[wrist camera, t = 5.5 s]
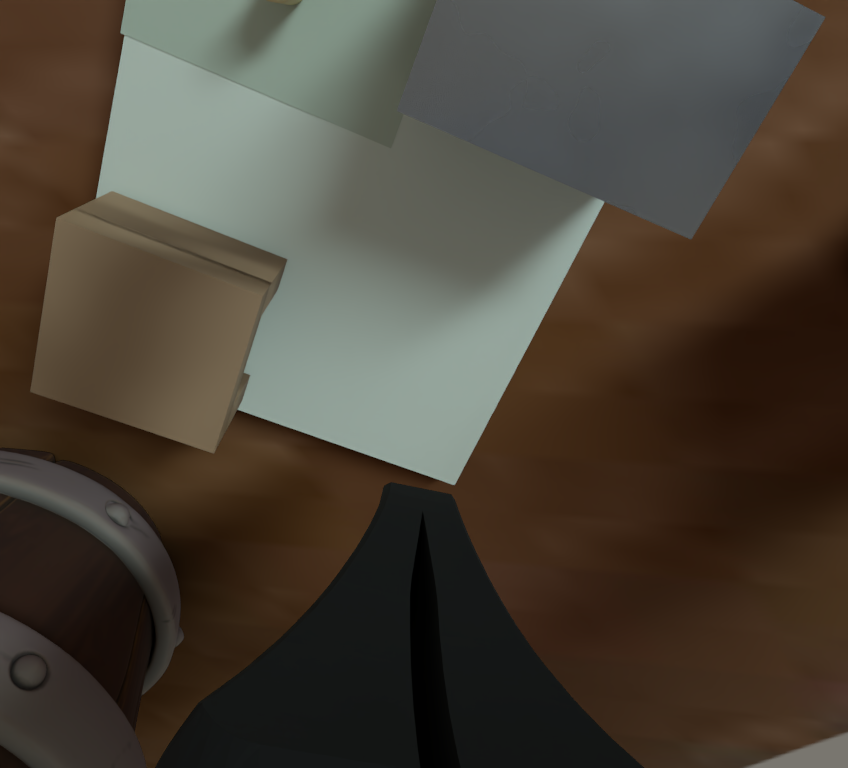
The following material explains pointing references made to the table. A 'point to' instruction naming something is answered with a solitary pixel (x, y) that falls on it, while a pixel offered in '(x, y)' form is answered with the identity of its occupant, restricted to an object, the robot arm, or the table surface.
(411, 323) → the base
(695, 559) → the table surface
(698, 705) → the table surface
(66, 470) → the flowerpot
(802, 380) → the table surface
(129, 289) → the cover
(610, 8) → the grey block
